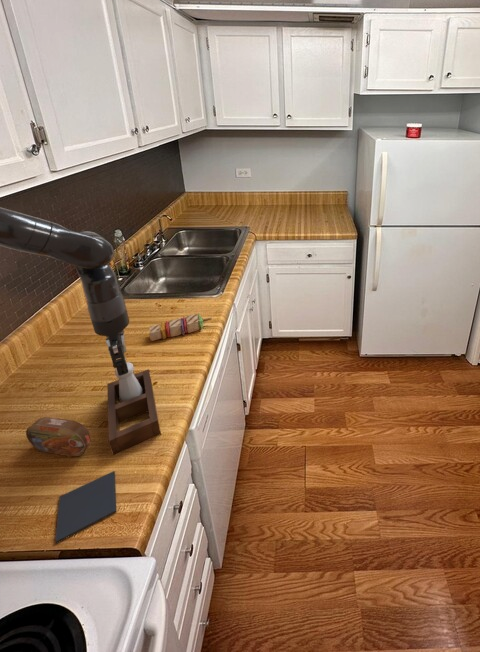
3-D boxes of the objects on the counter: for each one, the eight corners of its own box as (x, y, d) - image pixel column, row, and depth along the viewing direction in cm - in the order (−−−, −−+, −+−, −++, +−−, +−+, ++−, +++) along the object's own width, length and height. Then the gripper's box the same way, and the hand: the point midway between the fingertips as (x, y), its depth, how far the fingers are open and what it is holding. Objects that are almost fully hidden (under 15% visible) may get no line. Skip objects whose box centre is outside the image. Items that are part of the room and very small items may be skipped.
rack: (113, 455, 78) (108, 441, 76) (111, 397, 93) (107, 383, 91) (160, 434, 83) (157, 420, 81) (151, 382, 98) (148, 369, 96)
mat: (55, 543, 63) (55, 542, 62) (60, 498, 70) (59, 496, 70) (116, 512, 67) (115, 510, 67) (114, 472, 75) (114, 470, 74)
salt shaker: (133, 391, 95) (124, 356, 90) (149, 396, 93) (141, 360, 89) (116, 408, 90) (105, 371, 85) (133, 414, 88) (123, 377, 83)
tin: (30, 450, 79) (19, 425, 76) (42, 437, 82) (32, 413, 79) (87, 459, 77) (78, 434, 74) (97, 446, 80) (88, 421, 77)
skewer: (151, 345, 113) (148, 333, 111) (151, 333, 118) (148, 322, 116) (213, 329, 121) (212, 317, 119) (210, 319, 126) (209, 308, 125)
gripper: (90, 301, 84) (105, 351, 90) (89, 332, 73) (106, 387, 79) (124, 292, 88) (136, 341, 94) (127, 321, 77) (141, 375, 83)
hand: (122, 362), depth 86 cm, fingers open, 8 cm apart
